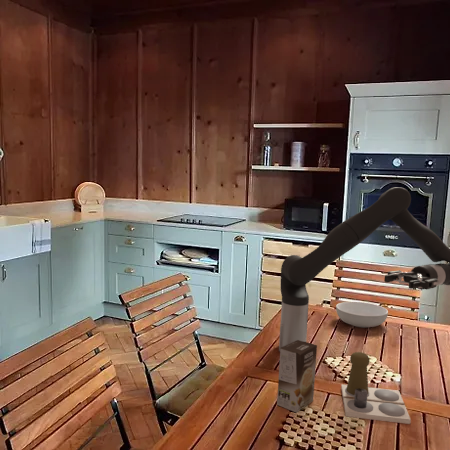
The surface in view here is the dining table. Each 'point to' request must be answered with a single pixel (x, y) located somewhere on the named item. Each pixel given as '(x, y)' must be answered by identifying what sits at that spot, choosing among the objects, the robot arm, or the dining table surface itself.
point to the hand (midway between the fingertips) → (397, 282)
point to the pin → (360, 398)
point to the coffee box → (296, 375)
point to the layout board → (377, 405)
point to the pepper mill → (358, 372)
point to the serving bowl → (361, 314)
